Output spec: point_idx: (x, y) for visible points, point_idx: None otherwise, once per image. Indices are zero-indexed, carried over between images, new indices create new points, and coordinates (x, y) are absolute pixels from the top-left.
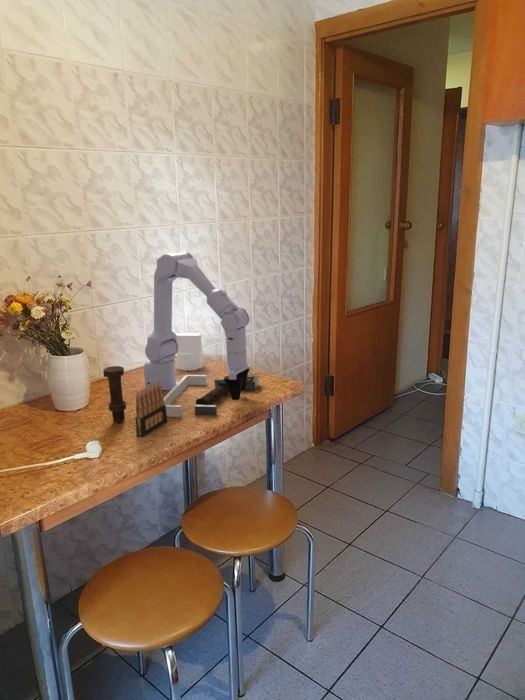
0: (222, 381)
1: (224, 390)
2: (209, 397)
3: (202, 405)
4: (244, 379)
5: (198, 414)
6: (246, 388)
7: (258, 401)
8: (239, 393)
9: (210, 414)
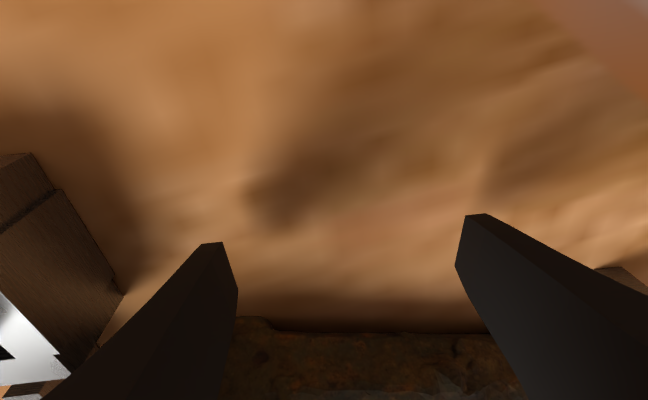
0: None
1: (290, 366)
2: (525, 396)
3: None
4: (163, 369)
5: None
6: (72, 247)
7: (341, 23)
8: (558, 256)
9: None
